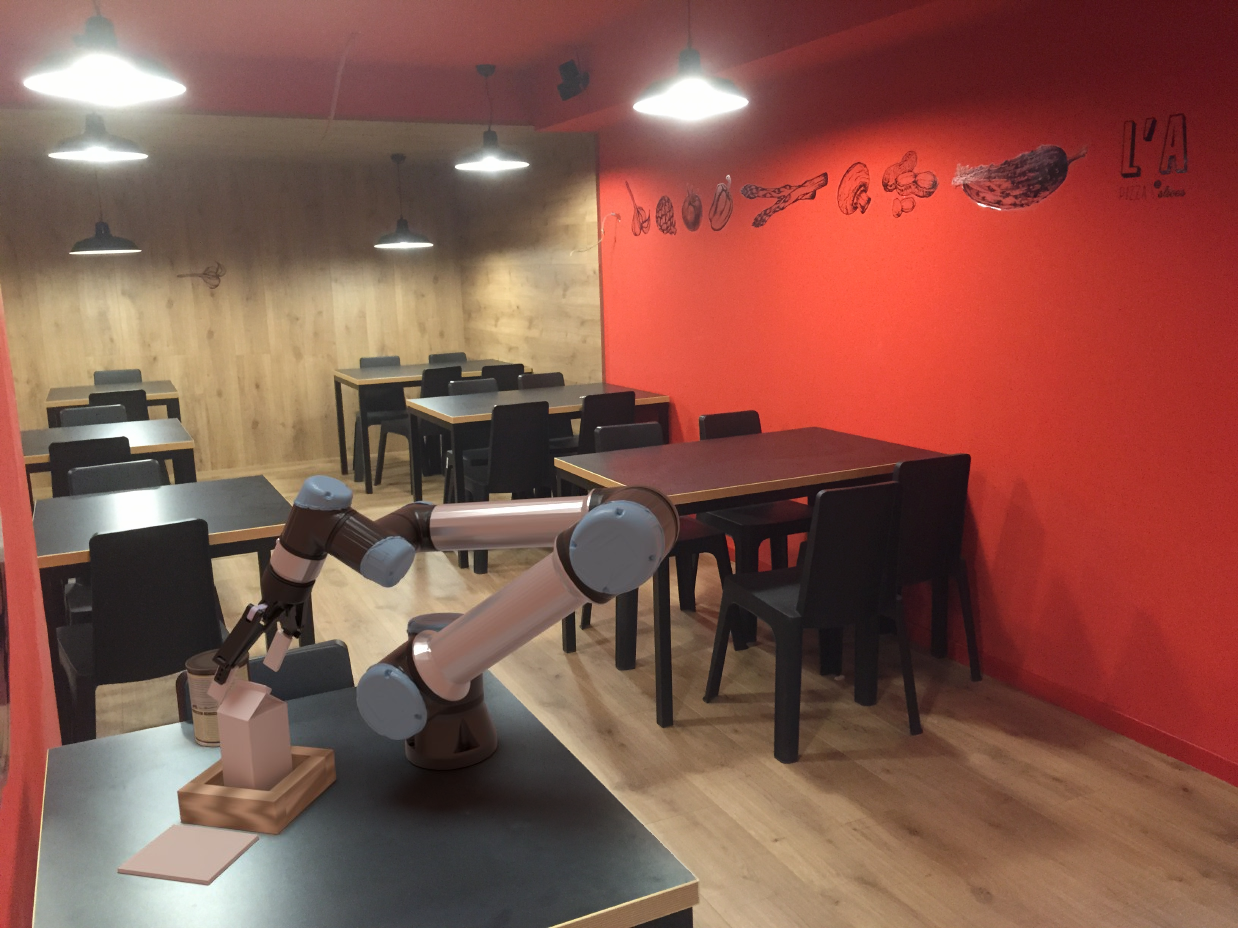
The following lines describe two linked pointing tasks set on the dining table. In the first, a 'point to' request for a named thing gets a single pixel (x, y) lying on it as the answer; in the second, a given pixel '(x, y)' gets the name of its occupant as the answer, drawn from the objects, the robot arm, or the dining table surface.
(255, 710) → the milk carton
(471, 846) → the dining table surface
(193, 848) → the pink mat
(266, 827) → the frame
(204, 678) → the coffee can
